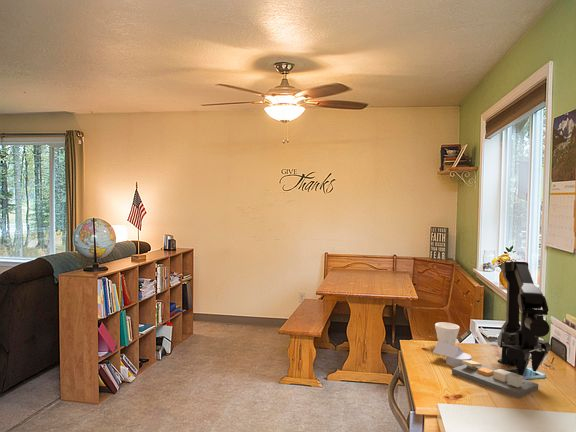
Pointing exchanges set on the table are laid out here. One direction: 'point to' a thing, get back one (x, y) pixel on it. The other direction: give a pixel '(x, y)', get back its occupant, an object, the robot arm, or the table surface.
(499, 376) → the off-white button
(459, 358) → the wedge on round base
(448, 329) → the cup
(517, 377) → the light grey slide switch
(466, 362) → the cream rectangular plate
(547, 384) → the table surface
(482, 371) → the orange button
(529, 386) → the control panel
